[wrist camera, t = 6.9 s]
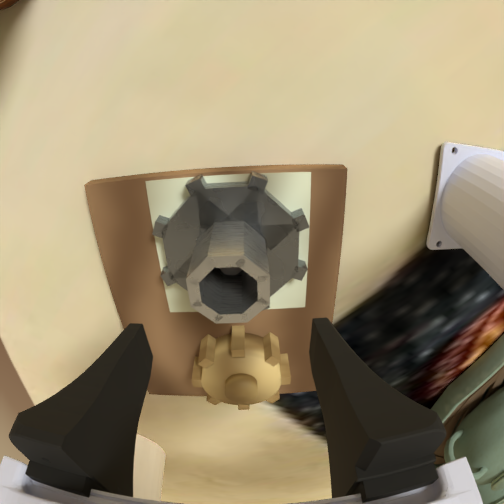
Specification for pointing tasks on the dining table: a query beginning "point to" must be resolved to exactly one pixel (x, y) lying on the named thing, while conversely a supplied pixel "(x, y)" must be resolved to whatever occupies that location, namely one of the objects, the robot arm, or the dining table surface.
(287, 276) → the planet gear
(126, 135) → the dining table surface
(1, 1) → the food container
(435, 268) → the dining table surface
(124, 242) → the carrier board
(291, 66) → the dining table surface
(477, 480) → the tea set
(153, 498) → the bottle
